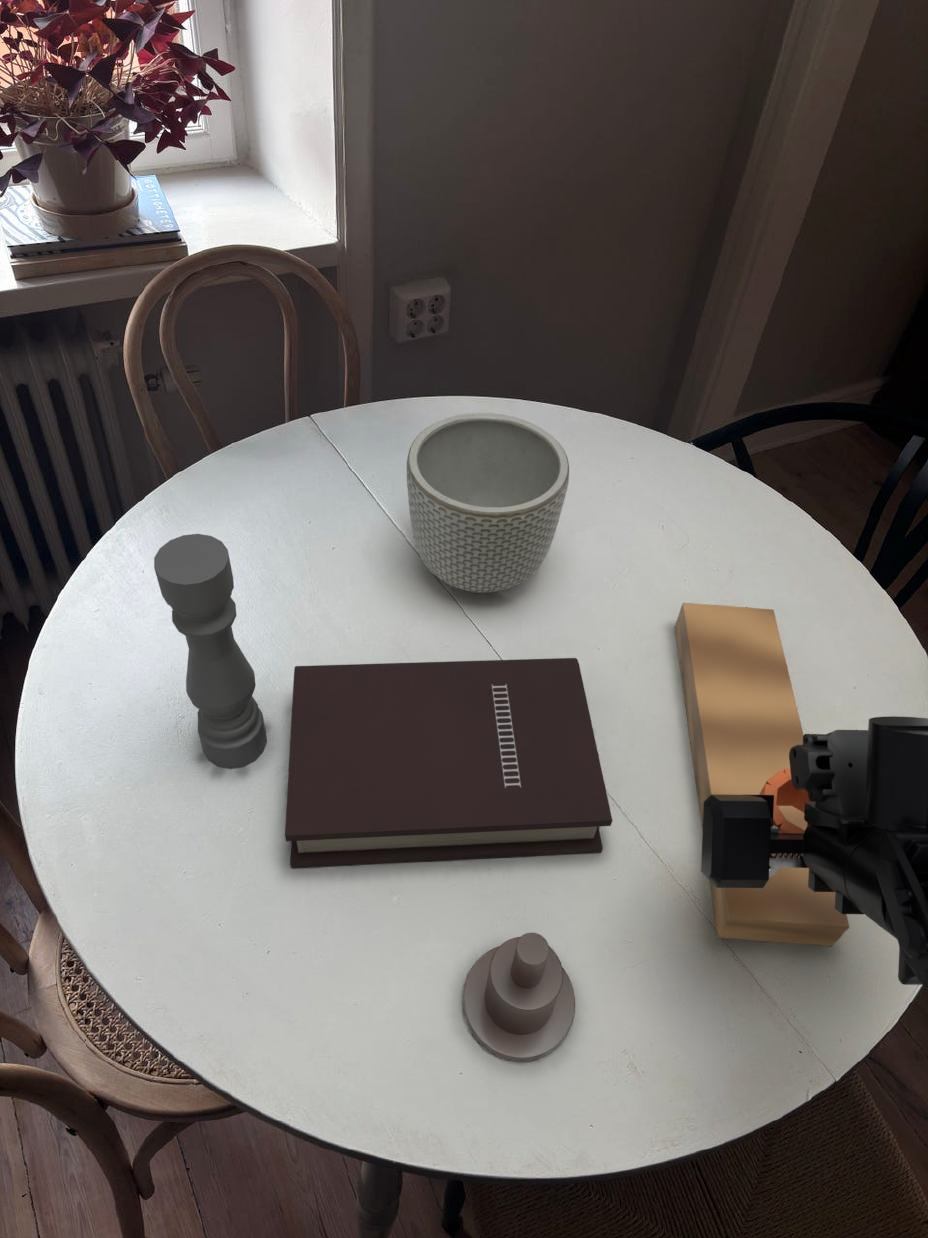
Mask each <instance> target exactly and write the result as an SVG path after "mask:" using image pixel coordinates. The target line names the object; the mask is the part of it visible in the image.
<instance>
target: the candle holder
mask: <svg viewBox="0 0 928 1238" xmlns="http://www.w3.org/2000/svg"><path fill="white" fill-rule="evenodd" d="M153 560H154V561H153V562H154V563H153V569H154V572H155V576H156V580H157V582H158V586H159V590H160V593H161V597H162V598H163V600H164V601H165V603H166V604H167V605H168V606H169V607H170V608H171V621H172V624H173V625H174V627H175V628H176V630H177V631H178V633H180V634H181V635H182V636H183V635H184V636H185V640H186V645H187V647H188V653H187V654H188V655H187V666H186V667H187V668H186V675H185V676H186V678H185V691H186V694H187V697H188V698H189V700H190V701H191V703H192V705H193V706H194V707H195V708H196V709H198V710H197V723H196V724H197V735H198V738H199V741H200V745H201V749H202V752H203V754H204V755H205V757H206V759H207V760H208V762H210V763H212V764H213V765H214V766H216V767H218V768H222V769H223V768H224V769H229V770H232V769H240V768H244V767H246V766H248V765H250V764H252V763H254V762H255V761H256V760H257V759H258V758H259V757H260V756H261V755H262V754H263V753H264V751H265V748H266V746H267V743H268V739H267V730H266V725H265V721H264V715H263V712H262V710H261V709H260V707H259V704H258V702H257V701H256V699H255V698H254V696H253V695H254V692H255V691H256V675H255V670H254V669H253V667H252V665H251V664H250V662H249V661H248V660H247V657H246V656H245V654H244V652H243V651H242V650H241V647H240V646H239V644H238V642H237V641H236V639H235V637H234V632H233V627H232V626H233V624H234V622H235V620H236V618H237V605H236V604H237V603H236V602H235V601H234V599H233V598H232V597H231V596H232V595H233V591H234V588H235V584H234V583H235V582H234V575H233V570H232V564H231V559H230V554H229V549H228V548H227V546H226V545H225V544H224V543H223V541H222V540H220V539H218V538H216V537H215V536H212V535H209V534H202V533H191V534H184V535H180V536H178V537H175V538H172V539H169V540H168V541H167V542H166V543H165V544H163V545H162V546H161V547H159V548H158V551H157V552H156V554H155V556H154V558H153Z"/></svg>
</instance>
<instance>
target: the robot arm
mask: <svg viewBox="0 0 928 1238" xmlns="http://www.w3.org/2000/svg"><path fill="white" fill-rule="evenodd" d="M867 724H868V726H867V729H836V730H832V731H830V732H828V733H803V735H804V736H803V745H796V746H793V747H792V748H791V749H790V752H789V761H790V771H791V781H792V785H793V786H794V788H795V789H801V790H806V791H807V792H808V796H809V799H810V801H815V802H805V811H804V819H805V821H806V822H807V828H806V830H805V832H804V833H779V828H778V827H777V826H775V825H773V813H774V795H720V794H711V795H710V796H709V797H708V798H707V799H706V800H705V801H704V805H703V829H702V833H701V834H702V835H701V860H700V861H701V862H700V872H701V873H702V874H703V875H704V876H705V877H706V878H707V879H708V881H709V882H710V881H711V882H712V884H713V885H714V886H715V887H716V888H764V886H765V885H766V883H767V882H768V880H769V877H772V876H774V875H775V874H776V873H777V871H778V869H780V868H809V876H808V887H809V888H810V889H811V890H813V891H814V892H836V894H835V909H836V910H837V911H839V912H840V913H841V914H847V915H864V916H866V917H867V918H868V919H870V920H871V921H872V922H874V924H876V925H877V926H879V927H880V928H881V929H883V930H884V931H886V932H887V933H888V934H889V935H891V936H892V937H894V938H895V939H896V940H897V943H898V947H899V951H898V968H897V978H898V981H899V982H900V984H901V985H904V986H923V988H925V989H926V991H928V717H916V716H895V715H894V716H876V717H875V716H874V717H871V718H869V719H868V723H867ZM779 853H781V856H780V854H779ZM784 853H785V854H786V856H785V854H784ZM772 854H775V857H774V856H773V855H772ZM790 854H792V855H790ZM796 854H797V856H796ZM801 854H802V855H801Z"/></svg>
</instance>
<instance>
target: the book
mask: <svg viewBox="0 0 928 1238" xmlns="http://www.w3.org/2000/svg"><path fill="white" fill-rule="evenodd" d="M583 681H584V680H583V677H582V672H581V666H580V663H579V660H578V658H576V657H553V658H528V659H526V658H525V659H521V658H520V659H491V660H490V659H489V660H488V659H487V660H486V659H485V660H459V661H457V660H456V661H455V660H454V661H421V662H391V663H389V662H388V663H387V662H385V663H355V664H353V663H352V664H322V665H321V664H320V665H319V664H318V665H317V664H316V665H295V666H294V669H293V683H292V700H291V701H292V702H291V703H292V704H291V719H290V720H291V721H290V736H289V737H290V739H289V754H288V756H289V757H288V770H287V771H288V773H287V775H288V776H287V789H286V790H287V792H286V809H285V811H286V812H285V827H284V838H285V842H290V856H289V857H290V859H289V865H290V869H308V868H311V869H312V868H326V867H327V868H328V867H330V868H331V867H348V866H370V865H389V864H407V863H408V864H411V863H430V862H446V861H447V862H450V861H451V862H452V861H466V860H467V861H468V860H487V859H488V860H489V859H508V858H509V859H510V858H527V857H529V858H531V857H548V856H549V857H550V856H566V855H568V856H570V855H571V856H572V855H587V854H589V855H590V854H601V853H602V852H603V849H604V847H603V842H602V838H601V832H600V827H611V826H612V823H613V817H612V812H611V807H610V803H609V797H608V793H607V789H606V783H605V779H604V774H603V769H602V766H601V761H600V755H599V751H598V746H597V741H596V738H595V737H596V736H595V732H594V728H593V723H592V719H591V714H590V710H589V705H588V700H587V695H586V691H585V690H586V689H585V685H584V682H583Z"/></svg>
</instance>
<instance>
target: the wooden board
mask: <svg viewBox="0 0 928 1238" xmlns="http://www.w3.org/2000/svg"><path fill="white" fill-rule="evenodd" d="M674 631H675V639H676V646H677V647H676V648H677V652H678V653H677V654H678V660H679V661H678V662H679V668H680V675H681V682H682V690H683V697H684V704H685V711H686V712H685V713H686V720H687V726H688V734H689V741H690V742H689V743H690V747H691V754H692V755H691V756H692V764H693V769H694V778H695V785H696V792H697V793H696V794H697V801H698V806H699V813H700V820H701V828H702V829H701V830H703V805H704V801H705V800H706V799H707V798H708V797H709V796H710V795H711V794H720V795H759V794H760V792H761V790H762V789H763V787H764V785H765V783H766V781H767V780H768V779H770V778H771V777H772V776H774V775H775V774H776V773H778V772H779V771H780V770H782V771H784V769H790V761H789V752H790V749H791V748H792V747H793V746H796V745H803V736H804V730H803V726H802V723H801V717H800V714H799V710H798V706H797V702H796V698H795V694H794V690H793V685H792V681H791V676H790V673H789V668H788V665H787V659H786V656H785V652H784V647H783V644H782V639H781V635H780V631H779V627H778V622H777V618H776V614H775V611H774V609H773V608H760V607H746V606H745V607H744V606H734V605H733V606H732V605H722V604H721V605H718V604H706V603H694V602H693V603H692V602H682V604H681V607H680V610H679V613H678V615H677V618H676V622H675V624H674ZM778 807H779V809H780V810H781V812H782V814H783V815H784V817H785V818H786V820H787V821H789V822H791V823H793V824H794V825H796V826H798V827H800V828H801V829H803V830H806V828H807V822H806V821H805V819H804V812H802V811H800V810H798V809H796V808H795V807H793V806H778ZM808 876H809V868H780V869H778V871H777V873H776V874H775V875H774V876H772V877H769V880H768V882H767V883H766V885H765V886H764V888H716V887H715V886H714V885H713V884H712V882H711V881H710V880H709V887H710V894H711V901H712V909H713V917H714V924H715V930H716V937H717V938H720V939H732V940H748V941H761V942H773V943H787V944H801V945H812V946H814V945H815V946H826V947H833V946H834V945H835V944H836V943H837V942H838V941H839V939H840V938H841V937H842V936H843V935H844V934H845V933H846V931H847V930H848V929H849V928H850V923H849V919H848V914H841V913H840V912H839V911H837V910H836V909H835V894H836V892H814V891H813V890H811V889H810V888H809V887H808Z"/></svg>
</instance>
